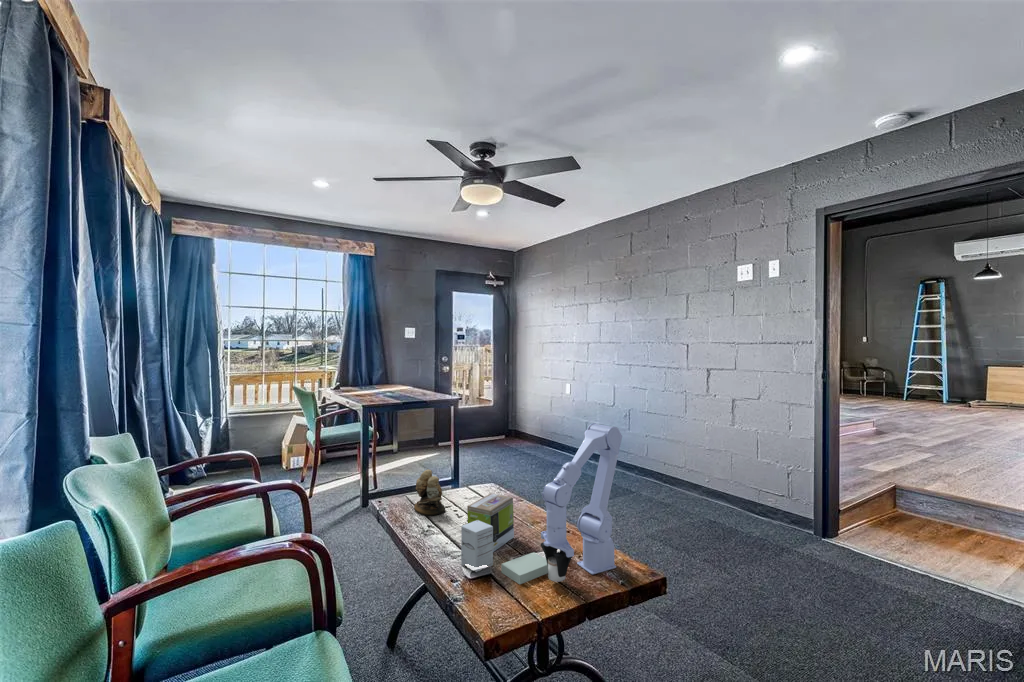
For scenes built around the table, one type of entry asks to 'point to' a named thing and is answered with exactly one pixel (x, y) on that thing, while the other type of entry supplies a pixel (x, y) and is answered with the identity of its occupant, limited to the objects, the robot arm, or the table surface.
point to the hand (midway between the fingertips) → (556, 571)
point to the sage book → (525, 568)
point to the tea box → (494, 516)
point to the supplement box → (477, 544)
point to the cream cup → (553, 570)
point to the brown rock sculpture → (429, 495)
